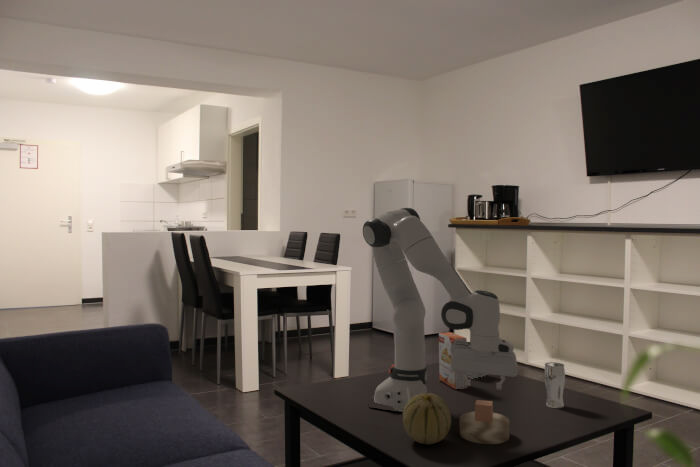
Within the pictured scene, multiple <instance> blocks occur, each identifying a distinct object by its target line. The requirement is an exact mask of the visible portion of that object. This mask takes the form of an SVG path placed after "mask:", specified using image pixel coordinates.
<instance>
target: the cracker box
mask: <svg viewBox="0 0 700 467" xmlns="http://www.w3.org/2000/svg"><path fill="white" fill-rule="evenodd" d="M456 341H460V342H468V341H467V337H465V336H463V335H459V334H457V333H453V332H451V331H448V332H446V331H445V332H439V333H438V364H439V365H438V368H439V373H438V374H439V381H440V380H441V381H443V382H444V383H446V384H447V385H449V386H451V387H452V388H454V389H460V390H465V389H464V388H467V389H468V386H465V380H464V378H463V376H462V372H461V371H453V370H452V369H451V359H452V353H451V344H452V343H454V342H456ZM466 376H467V375H466ZM444 383H443V384H444ZM447 385H446V386H447ZM449 386H448V387H449ZM451 387H450V388H451ZM452 388H451V389H452ZM454 389H453V390H454Z"/></svg>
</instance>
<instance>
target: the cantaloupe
mask: <svg viewBox="0 0 700 467" xmlns="http://www.w3.org/2000/svg"><path fill="white" fill-rule="evenodd" d="M402 424H403V427H404V430H405V432H406V434H407V435H408V436H409V438H411V440H413V441H415V442H416V443H419V444H422V445H434V444H436V443H440V442H442V440H444V438H445V437H446V436H448V434H449V431H450V429H451V426H452V416H451V410H450V407H449V406H448V404H447V402H446V401H445V400H444V399H443V398H442V397H441V396H439V395H437V394H435V393H432V392H427V393H421V394H418V395H416V396H414V397H412V398H411V399H410V400H409V402H408V403H407V404H406V406H405V408H404V412H403V413H402Z"/></svg>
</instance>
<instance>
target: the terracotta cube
mask: <svg viewBox="0 0 700 467" xmlns="http://www.w3.org/2000/svg"><path fill="white" fill-rule="evenodd" d="M493 405H494V403H493V400H480V399H475V402H474V411H475V421H483V422H492V419H493V413H494V409H493V408H494V406H493Z"/></svg>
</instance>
